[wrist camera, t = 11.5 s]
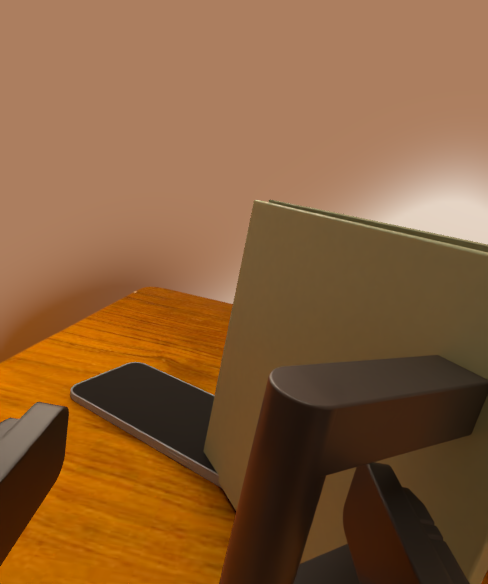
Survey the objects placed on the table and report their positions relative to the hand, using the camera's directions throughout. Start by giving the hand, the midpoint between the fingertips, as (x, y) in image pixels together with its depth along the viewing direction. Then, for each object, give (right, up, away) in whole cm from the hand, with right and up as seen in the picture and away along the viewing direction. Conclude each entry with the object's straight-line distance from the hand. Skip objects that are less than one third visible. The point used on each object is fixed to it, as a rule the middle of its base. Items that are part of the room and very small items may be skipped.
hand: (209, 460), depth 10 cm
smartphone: (-4, -5, +17) cm, 18 cm away
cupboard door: (0, -8, +6) cm, 10 cm away
